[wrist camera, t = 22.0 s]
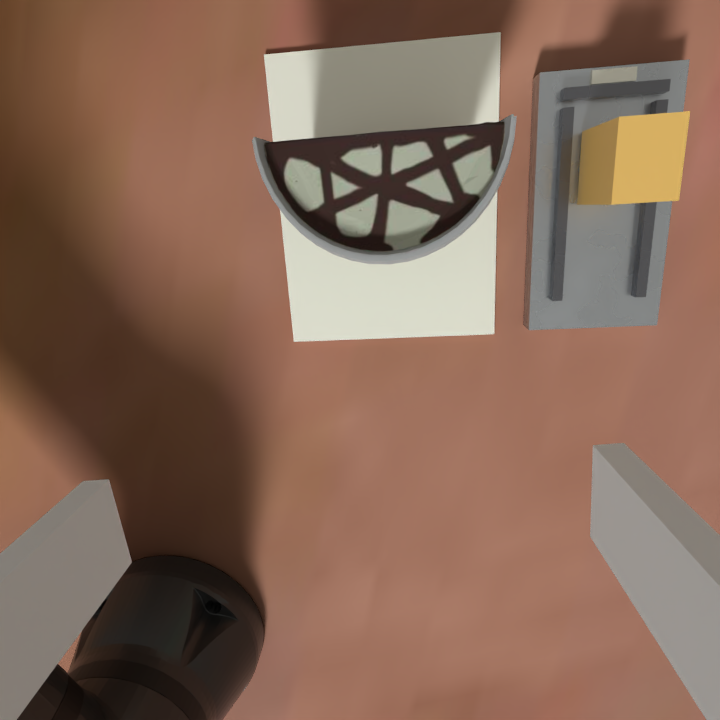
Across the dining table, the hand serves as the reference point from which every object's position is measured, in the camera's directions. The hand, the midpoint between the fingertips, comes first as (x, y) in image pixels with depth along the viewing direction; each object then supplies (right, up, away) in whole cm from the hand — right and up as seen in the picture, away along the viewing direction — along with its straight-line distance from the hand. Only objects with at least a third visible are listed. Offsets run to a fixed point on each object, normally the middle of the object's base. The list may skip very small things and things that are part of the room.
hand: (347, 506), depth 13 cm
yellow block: (+15, +15, +15) cm, 26 cm away
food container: (+2, +14, +18) cm, 23 cm away
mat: (+2, +14, +19) cm, 23 cm away
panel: (+15, +14, +18) cm, 27 cm away
